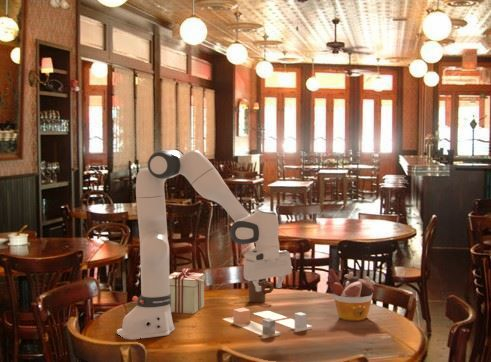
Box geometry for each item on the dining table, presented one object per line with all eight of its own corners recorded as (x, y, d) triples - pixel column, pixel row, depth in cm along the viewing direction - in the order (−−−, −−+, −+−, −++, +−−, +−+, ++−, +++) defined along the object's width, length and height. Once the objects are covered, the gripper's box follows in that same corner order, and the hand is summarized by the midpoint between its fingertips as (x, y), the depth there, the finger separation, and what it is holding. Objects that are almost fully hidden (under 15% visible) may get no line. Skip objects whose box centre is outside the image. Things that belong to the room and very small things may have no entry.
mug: (276, 300, 310) (276, 280, 309) (270, 304, 303) (270, 283, 302) (252, 298, 314) (252, 278, 314) (246, 302, 308) (245, 282, 307)
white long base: (263, 338, 249) (262, 322, 248) (222, 321, 274) (221, 306, 274) (280, 334, 253) (280, 319, 253) (238, 318, 278) (238, 304, 278)
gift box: (204, 314, 287) (203, 274, 286) (162, 313, 290) (161, 274, 289) (212, 304, 304) (211, 267, 303) (172, 304, 307) (171, 266, 306)
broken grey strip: (295, 332, 257) (295, 316, 256) (252, 316, 282) (252, 301, 282) (312, 329, 261) (311, 313, 261) (268, 313, 286) (268, 298, 286)
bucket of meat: (380, 315, 281) (379, 267, 280) (371, 324, 266) (370, 275, 265) (333, 310, 289) (333, 265, 288) (322, 320, 274) (322, 272, 273)
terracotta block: (240, 324, 265) (239, 312, 265) (233, 321, 269) (233, 309, 269) (250, 322, 268) (250, 310, 267) (243, 319, 272) (243, 307, 272)
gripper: (284, 248, 260) (285, 283, 260) (240, 254, 248) (241, 291, 249) (294, 250, 254) (295, 286, 255) (250, 257, 243) (251, 294, 244)
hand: (268, 289), depth 252 cm, fingers open, 8 cm apart
